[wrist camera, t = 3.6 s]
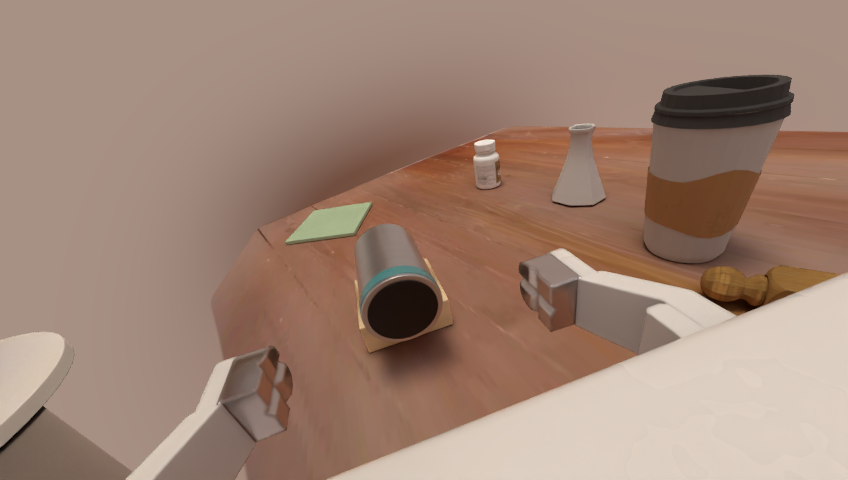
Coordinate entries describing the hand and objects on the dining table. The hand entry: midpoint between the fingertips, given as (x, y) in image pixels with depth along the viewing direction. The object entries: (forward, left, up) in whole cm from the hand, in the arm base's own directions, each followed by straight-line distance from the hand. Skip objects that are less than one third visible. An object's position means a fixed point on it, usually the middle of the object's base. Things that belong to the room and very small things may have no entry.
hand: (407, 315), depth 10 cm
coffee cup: (+23, +21, -14) cm, 34 cm away
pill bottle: (+6, +46, -14) cm, 49 cm away
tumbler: (-5, +13, -11) cm, 18 cm away
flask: (+18, +36, -14) cm, 43 cm away
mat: (-22, +39, -14) cm, 47 cm away
